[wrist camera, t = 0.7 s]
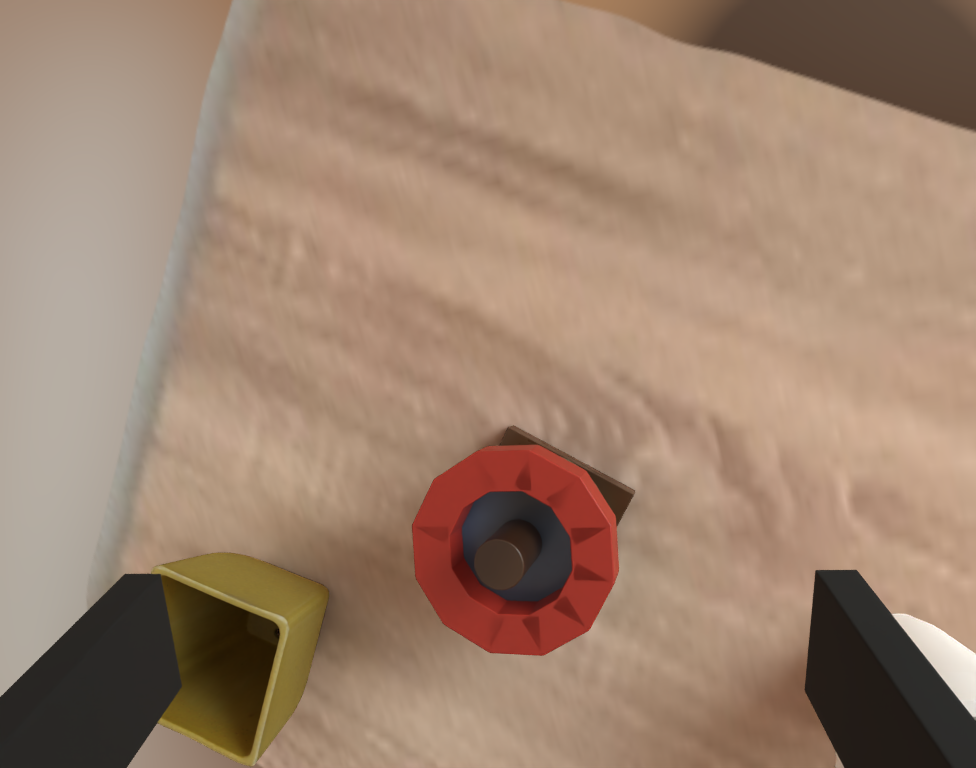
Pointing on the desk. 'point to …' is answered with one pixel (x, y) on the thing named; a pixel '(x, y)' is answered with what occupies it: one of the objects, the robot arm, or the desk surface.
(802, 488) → the desk surface
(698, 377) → the desk surface
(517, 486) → the ring
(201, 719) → the flower pot
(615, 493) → the stacking post
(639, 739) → the desk surface
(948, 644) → the foam cup
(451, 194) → the desk surface
